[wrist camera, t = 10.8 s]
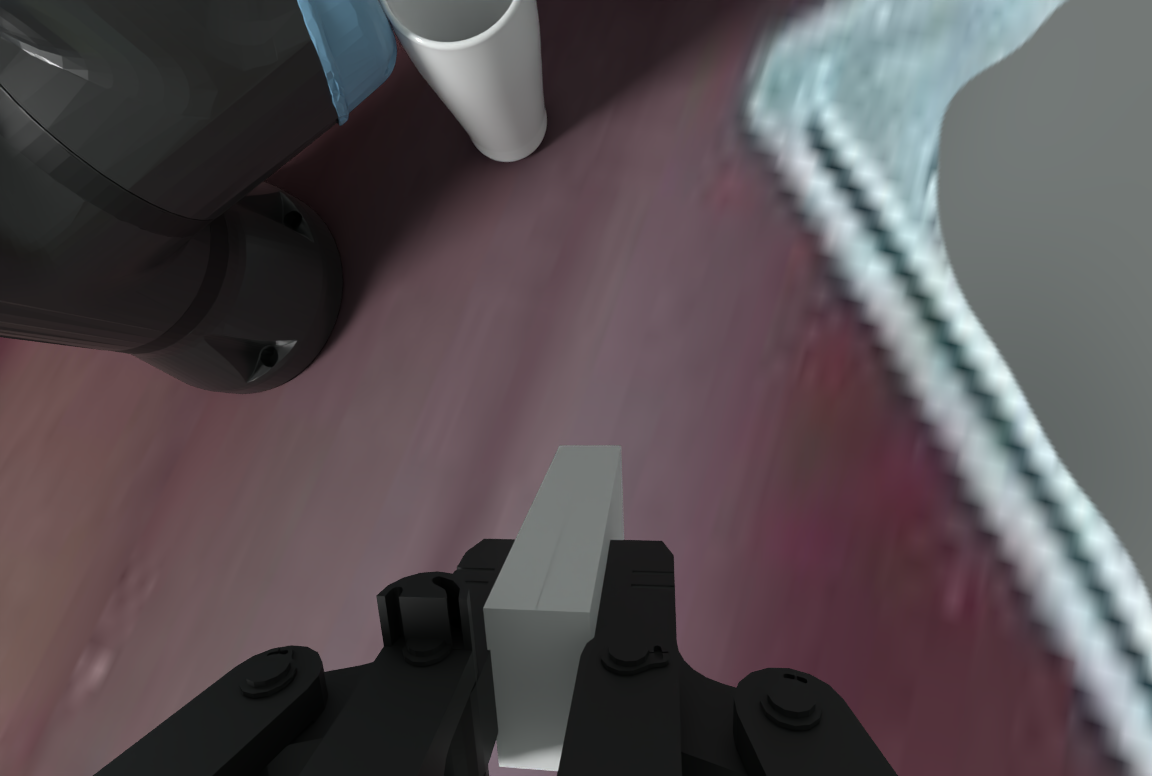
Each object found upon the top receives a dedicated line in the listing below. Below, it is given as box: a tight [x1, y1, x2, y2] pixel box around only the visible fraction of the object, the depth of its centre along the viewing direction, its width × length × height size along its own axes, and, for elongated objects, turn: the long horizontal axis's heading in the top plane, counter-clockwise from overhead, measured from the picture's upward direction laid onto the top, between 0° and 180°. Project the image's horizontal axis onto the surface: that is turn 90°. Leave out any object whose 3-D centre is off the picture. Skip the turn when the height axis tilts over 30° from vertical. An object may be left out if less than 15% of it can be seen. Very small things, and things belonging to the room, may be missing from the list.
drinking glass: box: [379, 0, 547, 162], centre depth 33 cm, size 7×7×15 cm
